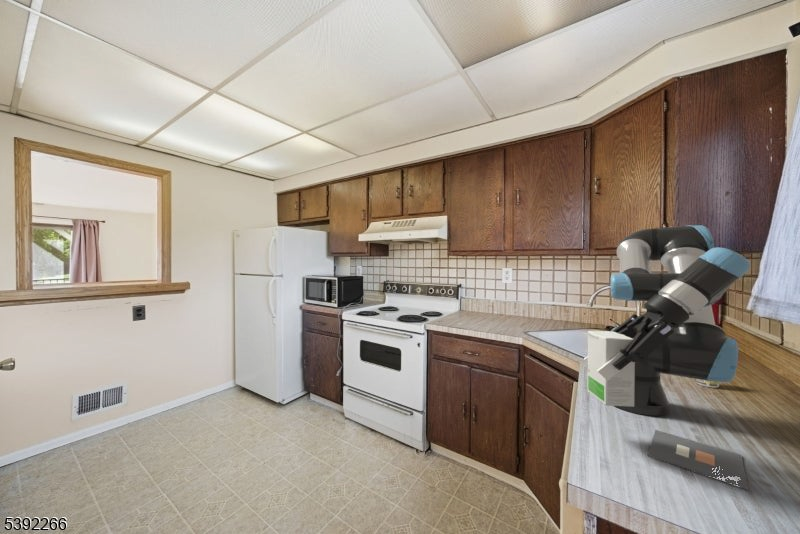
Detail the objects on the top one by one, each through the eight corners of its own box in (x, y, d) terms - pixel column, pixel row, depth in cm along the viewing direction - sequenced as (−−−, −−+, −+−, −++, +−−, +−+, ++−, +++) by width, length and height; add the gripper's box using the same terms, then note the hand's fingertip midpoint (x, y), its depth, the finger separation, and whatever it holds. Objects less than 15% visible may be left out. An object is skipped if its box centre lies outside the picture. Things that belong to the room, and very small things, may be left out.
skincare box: (586, 391, 75) (585, 330, 75) (614, 392, 74) (612, 330, 74) (606, 406, 66) (604, 337, 67) (638, 407, 66) (635, 337, 66)
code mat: (647, 455, 64) (647, 454, 64) (655, 430, 73) (655, 429, 73) (747, 490, 53) (747, 488, 53) (741, 456, 63) (741, 454, 63)
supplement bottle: (720, 385, 101) (719, 355, 101) (718, 389, 97) (717, 358, 97) (697, 380, 105) (696, 352, 105) (695, 384, 102) (694, 355, 102)
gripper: (725, 325, 56) (628, 399, 60) (660, 310, 76) (592, 367, 81) (689, 296, 57) (598, 371, 62) (636, 290, 78) (570, 346, 82)
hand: (594, 369), depth 71 cm, fingers closed on skincare box, 9 cm apart
